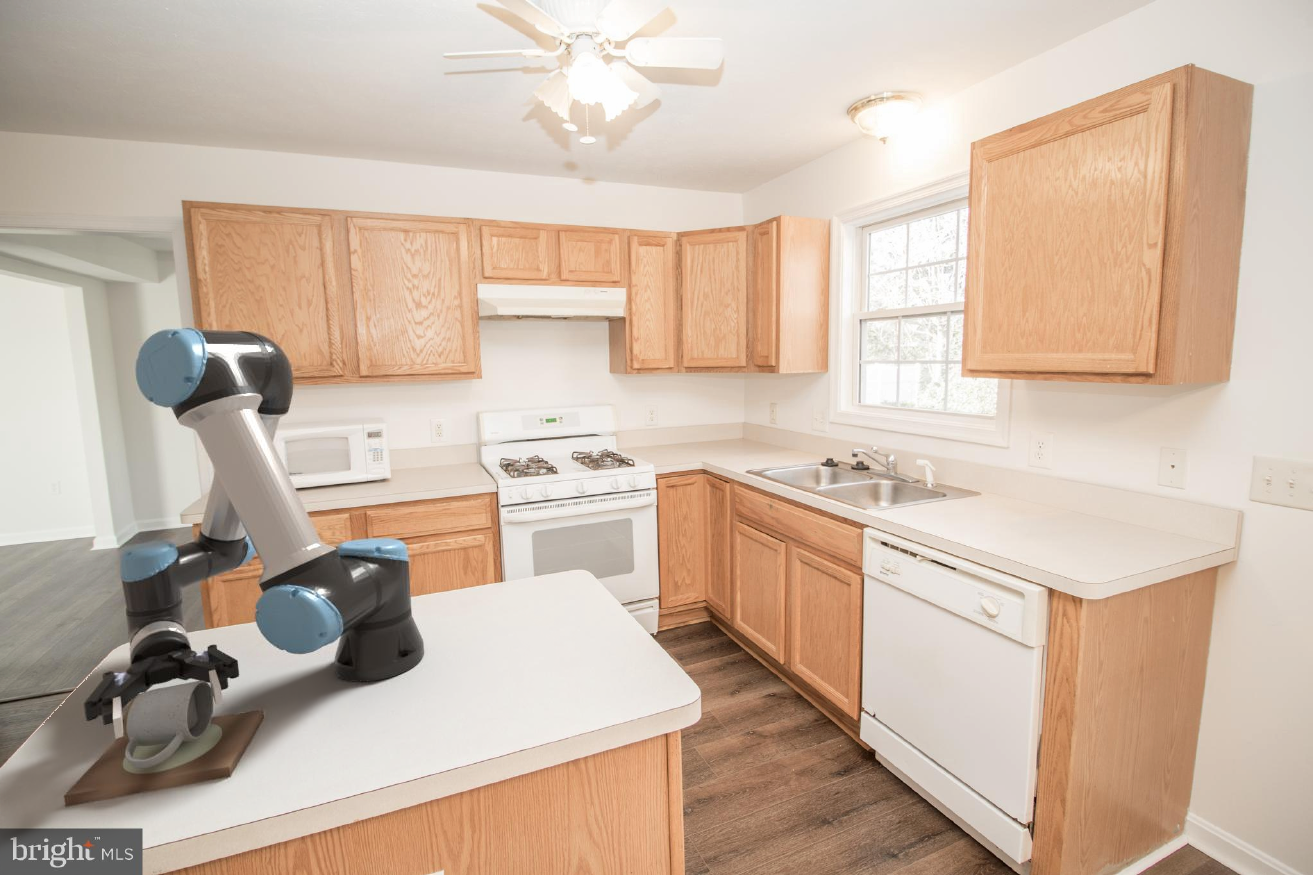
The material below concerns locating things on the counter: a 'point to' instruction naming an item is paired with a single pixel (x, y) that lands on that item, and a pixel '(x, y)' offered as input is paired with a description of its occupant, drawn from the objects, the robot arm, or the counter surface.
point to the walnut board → (169, 761)
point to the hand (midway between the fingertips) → (170, 711)
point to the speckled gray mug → (167, 719)
